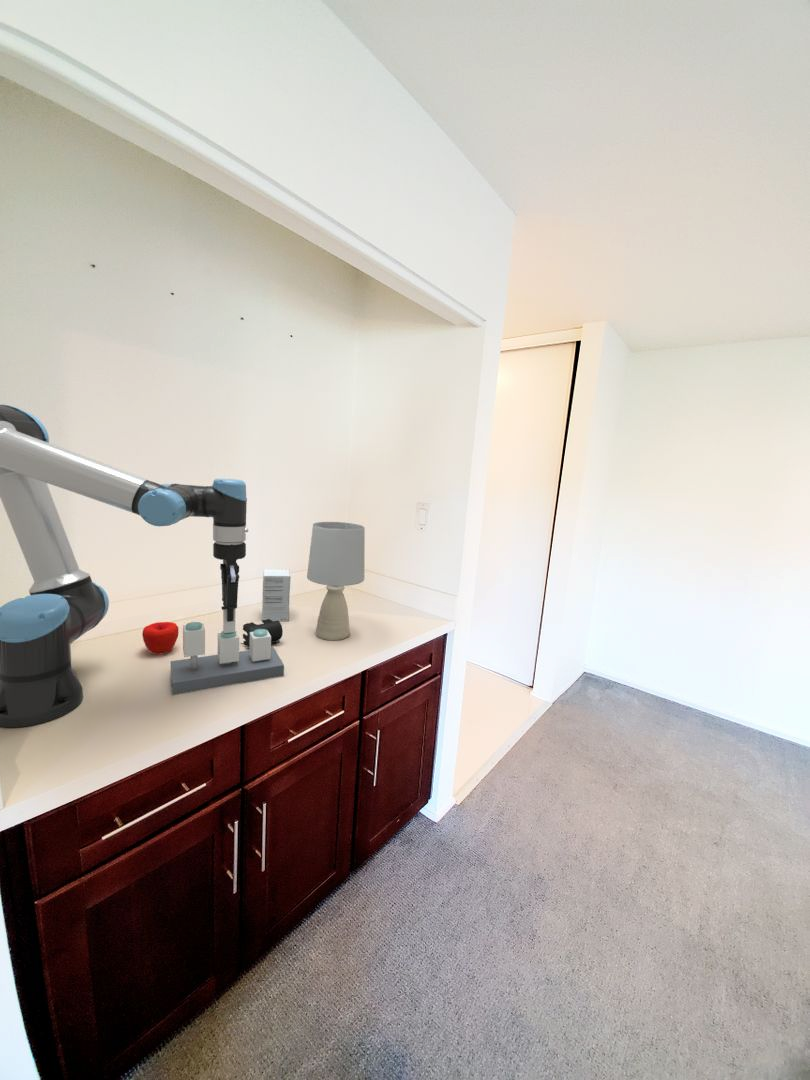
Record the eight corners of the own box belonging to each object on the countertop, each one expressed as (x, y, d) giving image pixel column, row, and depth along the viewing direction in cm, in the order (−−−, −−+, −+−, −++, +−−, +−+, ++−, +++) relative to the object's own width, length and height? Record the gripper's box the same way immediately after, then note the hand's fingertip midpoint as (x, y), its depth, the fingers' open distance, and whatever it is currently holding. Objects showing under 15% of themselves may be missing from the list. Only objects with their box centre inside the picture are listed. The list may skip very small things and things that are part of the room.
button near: (184, 657, 103) (184, 629, 102) (183, 649, 107) (182, 622, 105) (205, 654, 105) (205, 626, 104) (203, 646, 109) (203, 620, 108)
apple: (167, 641, 127) (167, 616, 125) (185, 650, 122) (185, 624, 121) (136, 651, 119) (135, 625, 118) (153, 661, 115) (153, 633, 113)
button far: (252, 661, 112) (253, 635, 110) (249, 654, 115) (249, 629, 114) (270, 658, 114) (271, 633, 113) (266, 651, 118) (267, 627, 117)
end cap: (251, 651, 125) (252, 630, 124) (241, 643, 130) (241, 622, 129) (282, 643, 132) (283, 623, 131) (271, 636, 137) (272, 616, 136)
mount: (172, 695, 100) (171, 663, 98) (170, 671, 110) (170, 642, 108) (283, 675, 113) (284, 647, 111) (273, 656, 123) (273, 630, 122)
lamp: (294, 639, 136) (298, 525, 129) (319, 620, 153) (324, 519, 147) (348, 649, 131) (356, 532, 125) (367, 629, 149) (375, 525, 143)
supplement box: (262, 612, 156) (263, 568, 153) (288, 612, 159) (289, 568, 156) (261, 622, 147) (262, 575, 144) (289, 621, 150) (290, 575, 147)
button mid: (219, 663, 107) (220, 637, 106) (217, 656, 111) (217, 630, 110) (238, 660, 110) (239, 634, 108) (236, 653, 114) (236, 628, 112)
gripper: (250, 546, 102) (249, 639, 106) (241, 536, 113) (240, 621, 117) (216, 547, 98) (216, 643, 102) (210, 537, 109) (210, 624, 113)
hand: (229, 631), depth 109 cm, fingers closed
